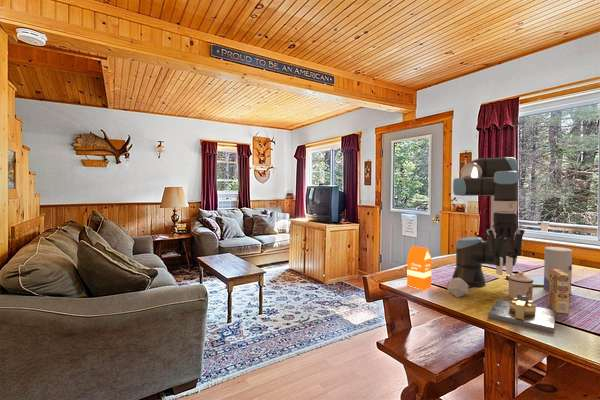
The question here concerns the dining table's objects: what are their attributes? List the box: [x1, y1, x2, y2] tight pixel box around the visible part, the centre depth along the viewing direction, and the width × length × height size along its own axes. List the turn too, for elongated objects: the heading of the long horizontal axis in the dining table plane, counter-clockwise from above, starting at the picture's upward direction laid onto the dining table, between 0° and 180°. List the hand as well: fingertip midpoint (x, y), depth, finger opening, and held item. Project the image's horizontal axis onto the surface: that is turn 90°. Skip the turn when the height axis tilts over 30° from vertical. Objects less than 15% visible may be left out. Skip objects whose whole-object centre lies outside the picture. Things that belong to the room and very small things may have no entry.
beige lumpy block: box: [509, 298, 537, 320], centre depth 115 cm, size 13×8×5 cm, turn 139°
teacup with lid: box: [507, 271, 534, 301], centre depth 138 cm, size 12×9×12 cm
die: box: [447, 277, 470, 298], centre depth 141 cm, size 8×9×10 cm
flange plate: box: [487, 294, 557, 334], centre depth 117 cm, size 19×19×8 cm
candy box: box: [548, 269, 570, 315], centre depth 124 cm, size 9×4×15 cm, turn 159°
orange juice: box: [406, 245, 432, 291], centre depth 154 cm, size 8×9×20 cm
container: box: [543, 246, 573, 294], centre depth 146 cm, size 10×10×20 cm
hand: (504, 274), depth 117 cm, fingers open, 3 cm apart
